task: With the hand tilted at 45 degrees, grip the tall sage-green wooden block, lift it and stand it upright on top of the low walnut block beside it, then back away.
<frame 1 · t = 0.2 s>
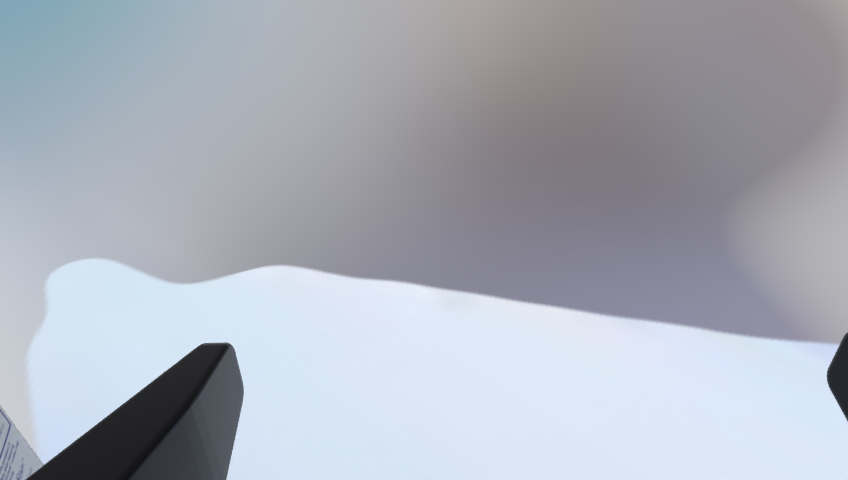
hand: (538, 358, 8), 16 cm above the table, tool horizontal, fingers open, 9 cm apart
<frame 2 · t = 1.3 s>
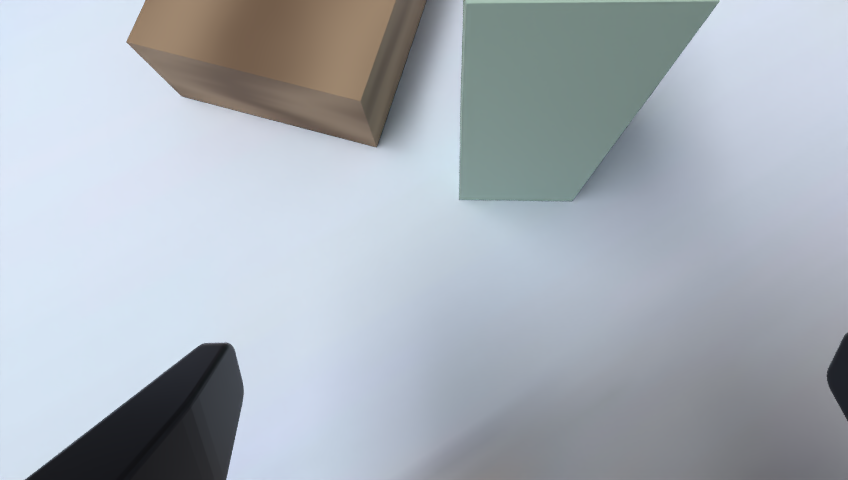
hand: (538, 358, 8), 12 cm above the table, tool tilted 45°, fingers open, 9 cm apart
tall green block: (514, 147, 22), on the table
walnut block: (311, 30, 23), on the table
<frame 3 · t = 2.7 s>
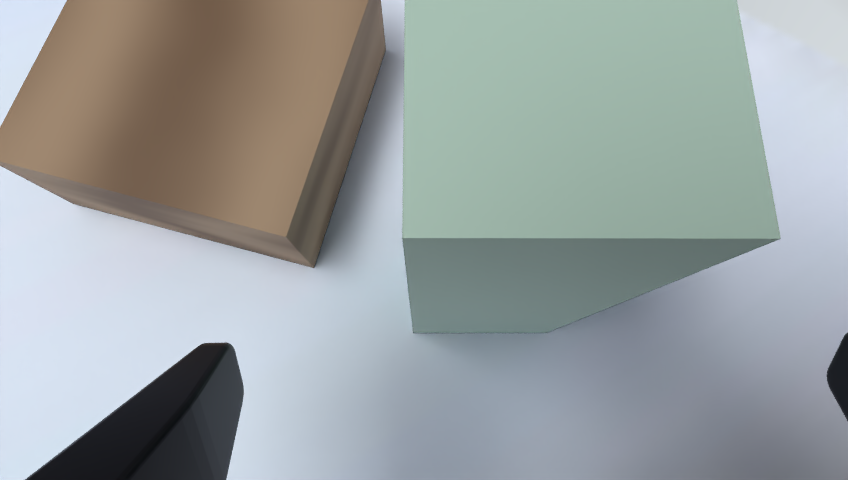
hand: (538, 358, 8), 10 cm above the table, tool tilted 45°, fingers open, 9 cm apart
tall green block: (478, 267, 18), on the table
walnut block: (236, 123, 20), on the table
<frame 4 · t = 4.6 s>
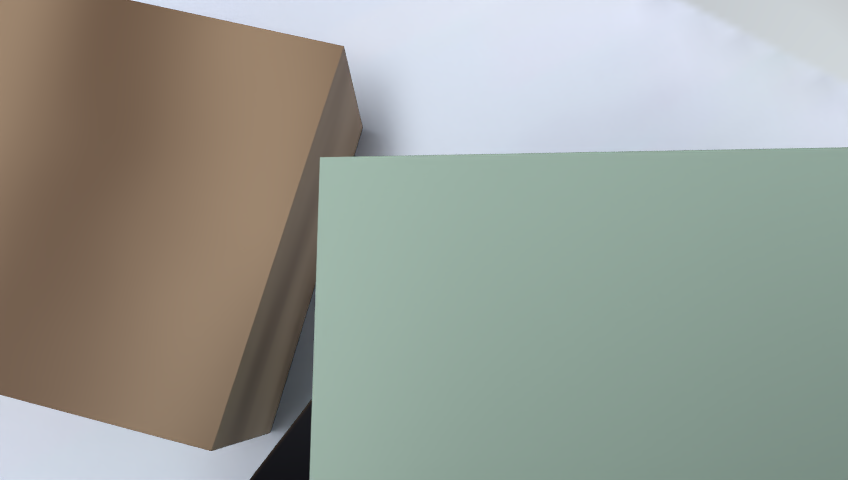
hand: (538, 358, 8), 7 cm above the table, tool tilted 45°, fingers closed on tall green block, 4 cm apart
tall green block: (488, 425, 14), on the table, touching gripper
walnut block: (169, 231, 15), on the table
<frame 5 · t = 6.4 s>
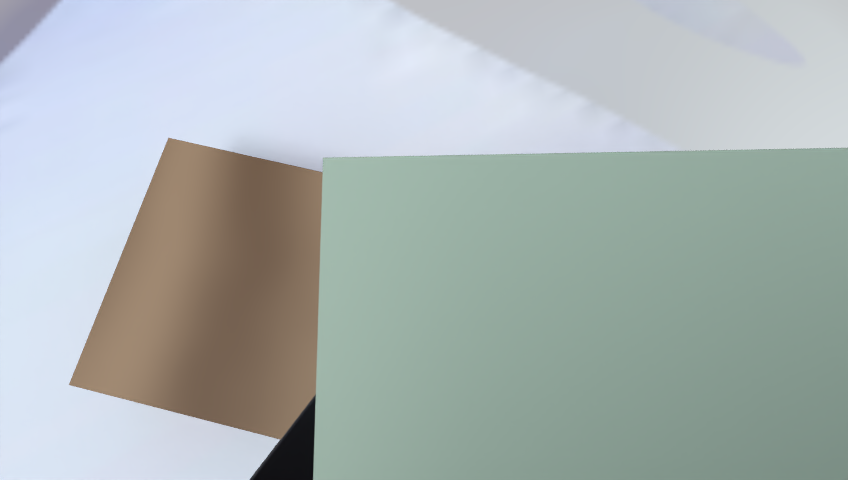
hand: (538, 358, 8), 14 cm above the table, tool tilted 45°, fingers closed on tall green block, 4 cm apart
tall green block: (489, 426, 14), point 7 cm above the table, touching gripper
walnut block: (277, 301, 22), on the table
when the fingers open (12 cm above the table, at t = 8.2 s): tall green block drops 1 cm, resting on walnut block.
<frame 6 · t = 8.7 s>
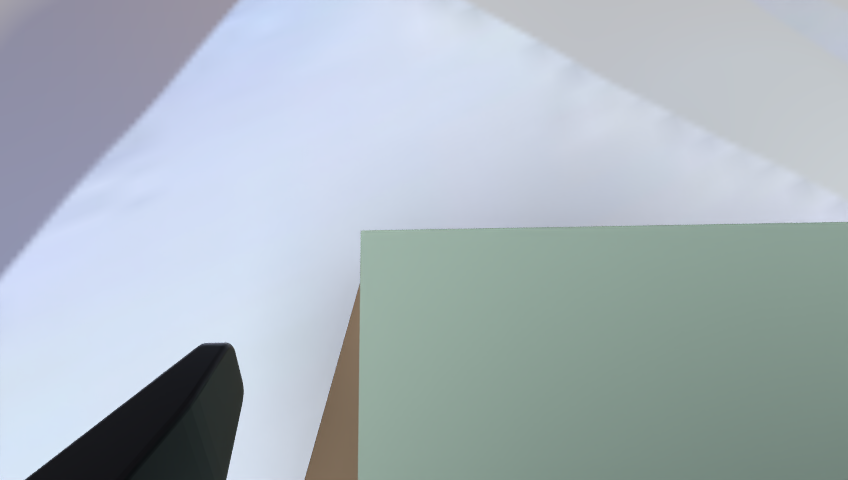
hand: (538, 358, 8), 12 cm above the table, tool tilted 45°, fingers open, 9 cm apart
tall green block: (484, 421, 15), point 4 cm above the table, touching walnut block
walnut block: (470, 413, 19), on the table
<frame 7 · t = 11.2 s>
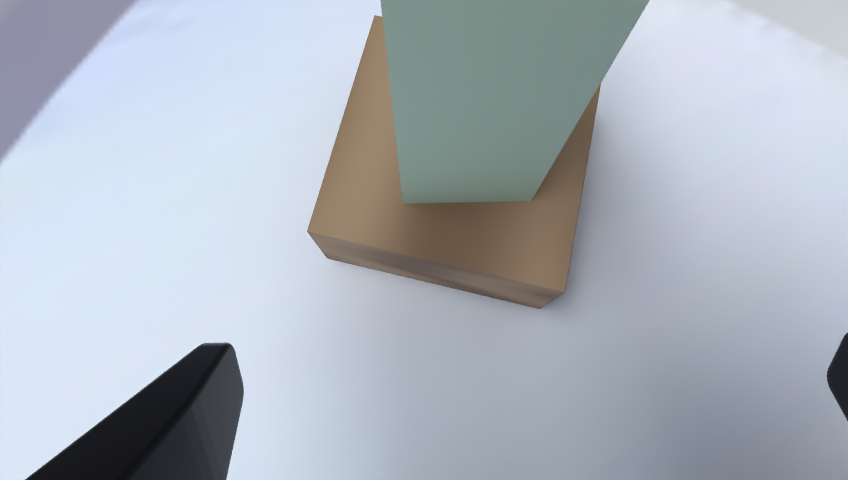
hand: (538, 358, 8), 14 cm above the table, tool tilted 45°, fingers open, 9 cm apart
tall green block: (464, 143, 19), point 4 cm above the table, touching walnut block
walnut block: (455, 183, 23), on the table
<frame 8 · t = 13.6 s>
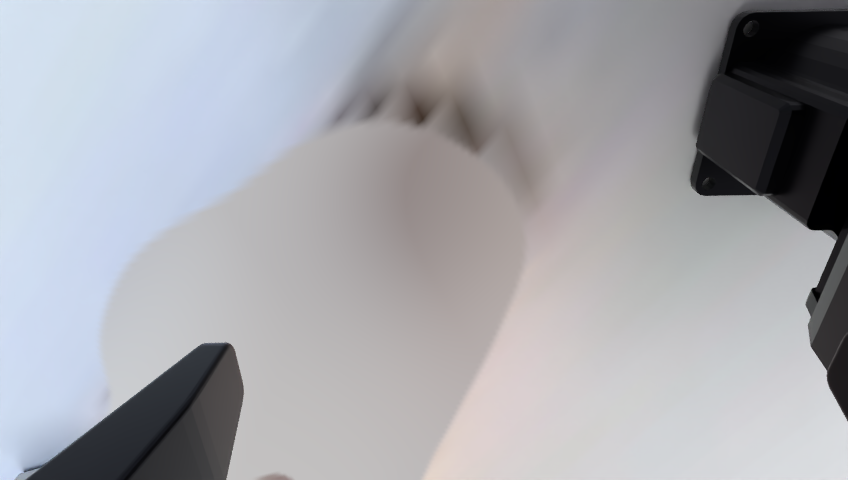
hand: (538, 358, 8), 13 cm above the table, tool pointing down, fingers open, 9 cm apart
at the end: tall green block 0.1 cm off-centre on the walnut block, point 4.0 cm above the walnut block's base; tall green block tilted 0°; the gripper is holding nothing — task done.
